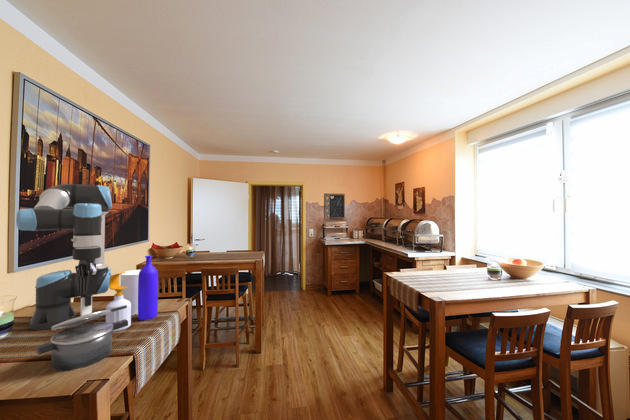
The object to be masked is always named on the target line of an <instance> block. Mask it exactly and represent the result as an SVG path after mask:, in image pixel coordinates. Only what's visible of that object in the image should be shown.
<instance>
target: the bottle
mask: <svg viewBox="0 0 630 420" xmlns="http://www.w3.org/2000/svg"><path fill="white" fill-rule="evenodd" d="M144 258H145V265H144V266H143V267H142V268H141V271H140V272H139V278H138V314H137V318H138V320H140V321H148V320H147V319H150V320H153V319H155V318H157V316H158V313H159V311H158V310H159V309H158V307H159V305H158V304H159V272H158V269H157V268H156V267H155V266H154V265H153V264H152V258H153V255H145V256H144ZM154 317H155V318H154ZM152 318H153V319H152Z"/></svg>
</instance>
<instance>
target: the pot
mask: <svg viewBox="0 0 630 420" xmlns="http://www.w3.org/2000/svg"><path fill="white" fill-rule="evenodd" d="M125 326H128V320H125V319H124V320H121V321H118V322H115V323H108V322H106V321H98V322H97V321H96V322H90V323H89V322H88V323H82V324H78V325H75V326H71V327H68V328H64V329H63V330H60V331H58V332H57V333H55V334H54V335H52V337H50V342H46V343H43V344H40V345H36V354H38V355H42V354H45V353H49V352H51V361H50V363H51V365H50V366H51V367H50V368H51V369H52V370H54V371H58V372H59V371H60V372H62V371H63V372H67V371H73V370H78V369H82V368H86V367H89V366H91V365H93V364H97V363H99V362H101V361H102V360H104V359H106V358H107V357H108V356H110V355H111V353H112V351H113V332H112V331H113V330H116V329H119V328H122V327H125ZM109 354H110V355H109Z"/></svg>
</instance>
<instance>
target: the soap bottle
mask: <svg viewBox="0 0 630 420" xmlns="http://www.w3.org/2000/svg"><path fill="white" fill-rule="evenodd" d="M123 273H126V271H123V272H119V273H115V274H113V275H112V274H111V276H110V280H109V289H110V290H113V291H114V292H116V293H115V294H114V295H113V300H112V301H110V302H109V303H108V304H107V305H106V307H105V310H109V309H114V308H117V307H121V306H125V305H127V308H125V309H122V310H118V311H115V312H111V313H109V314H107V315H105V322H108V323H115V322H118V321H121V320H124V319H125V320H128V326H125V327H122V328H119V329H116V330H113V331H112V333H113V332H120V331H123V330H126V329H127V328H129V327H131V324H132V315H131V303H130V301H128V300H126V299H124V298H123V293H121V291H122V290H123V289H124V288H126V287H124V286H121V285H120V281H119V279H120V276H121V274H123Z"/></svg>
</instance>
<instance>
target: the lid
mask: <svg viewBox="0 0 630 420" xmlns="http://www.w3.org/2000/svg"><path fill="white" fill-rule="evenodd" d="M125 308H127V305H125V306H121V307H117V308H114V309H109V310H106V309H103V310H99V311H98V310H96V311H94V312H93V311H92V313H90V314H87V315H83V316H80V315H78V316H76V317H73V318H69V319H67V321H64V322H61V323H59V324H56V325H54V326H52V327H51V328H50V329H51V331H56V330H60V329H61V330H62V329H63V330H65V329H68V328H71V327H74V326H78V325H83V324H86V323H87V322H90V321H92V320H96V319H98V318H99V319H100V318H102V317H104V316H106V315H107V314H109V313H111V312H115V311H118V310H122V309H125Z"/></svg>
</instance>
